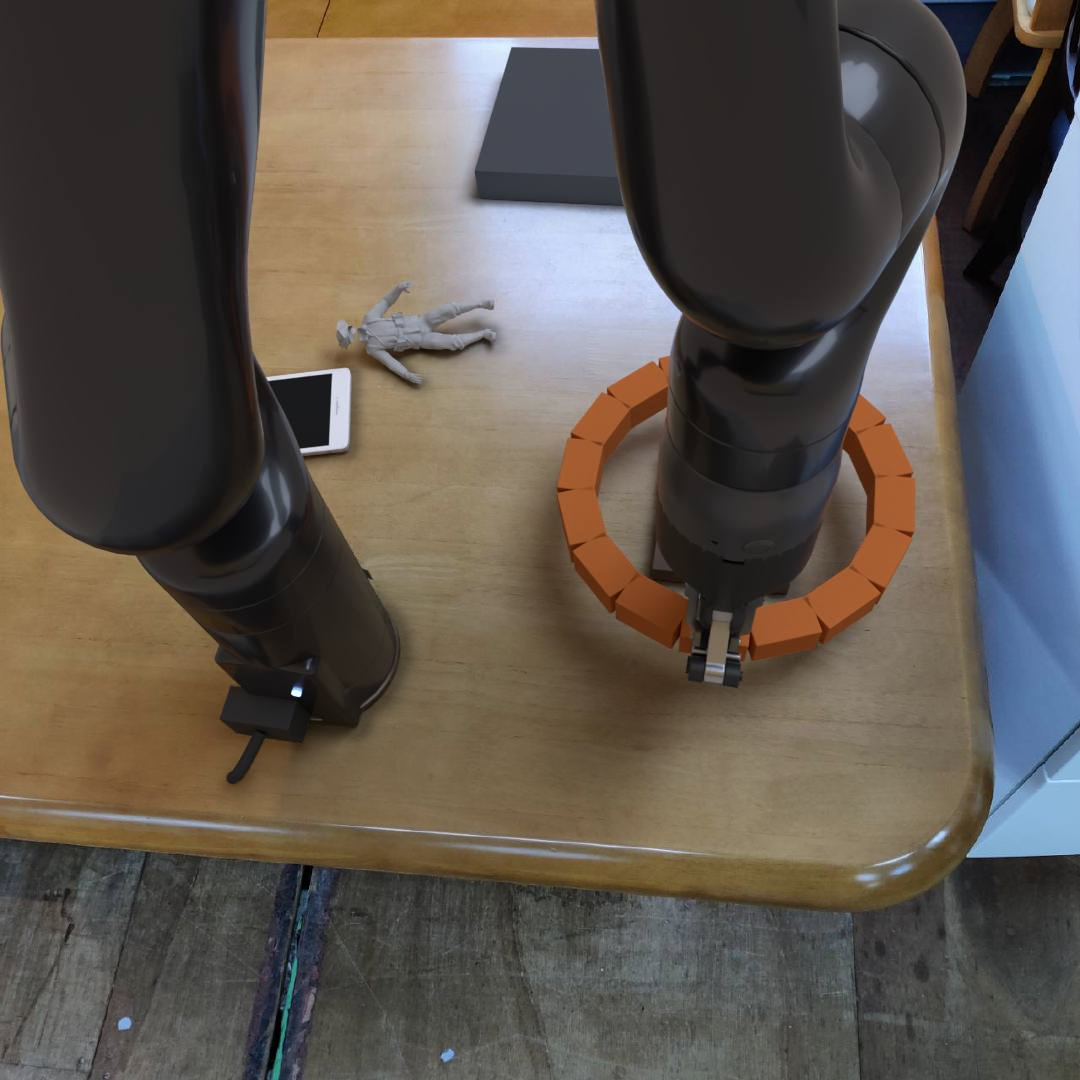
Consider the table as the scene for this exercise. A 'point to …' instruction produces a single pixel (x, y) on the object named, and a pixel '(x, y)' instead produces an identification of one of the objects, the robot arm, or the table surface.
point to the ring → (773, 623)
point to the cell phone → (317, 408)
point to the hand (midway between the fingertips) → (713, 637)
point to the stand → (550, 131)
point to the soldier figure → (410, 330)
